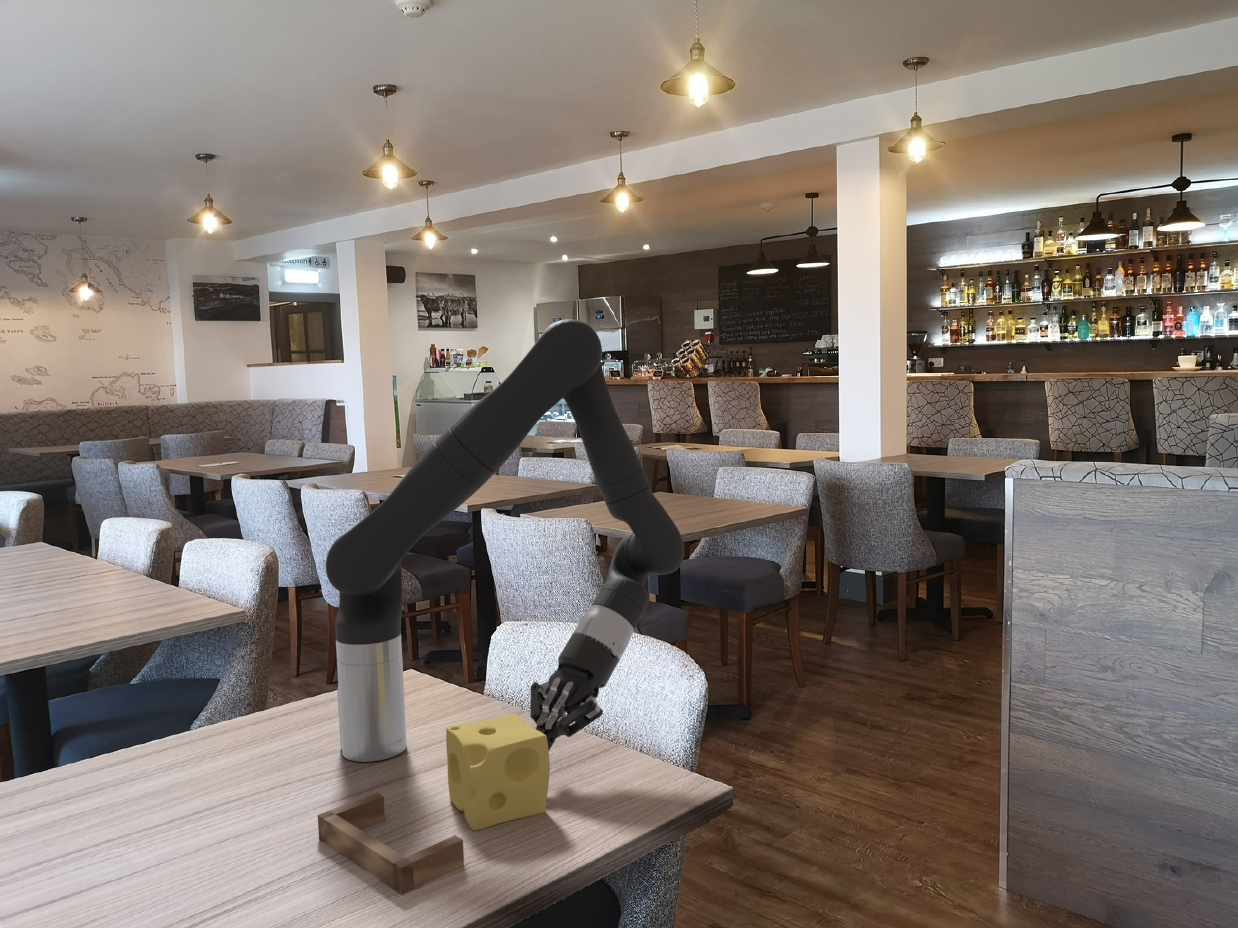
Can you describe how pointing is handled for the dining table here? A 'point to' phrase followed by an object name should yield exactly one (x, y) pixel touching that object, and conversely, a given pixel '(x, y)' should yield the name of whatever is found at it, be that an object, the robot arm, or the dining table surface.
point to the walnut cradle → (385, 847)
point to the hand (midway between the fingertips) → (532, 757)
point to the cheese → (497, 770)
